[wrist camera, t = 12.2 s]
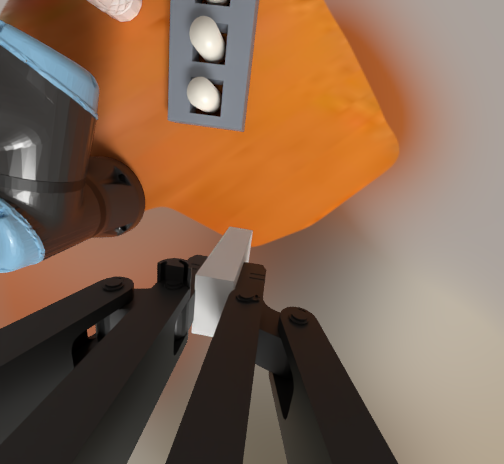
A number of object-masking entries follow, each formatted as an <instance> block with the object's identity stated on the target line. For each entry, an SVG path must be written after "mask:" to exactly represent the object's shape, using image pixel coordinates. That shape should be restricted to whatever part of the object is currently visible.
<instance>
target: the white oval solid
mask: <svg viewBox="0 0 504 464" xmlns="http://www.w3.org/2000/svg"><path fill="white" fill-rule="evenodd" d="M189 35H190V40H191V43H192V44H193V46H194V47H195V48H196V50H197V51H198V52H199V53H200V55H201V56H202V57H203V59H204V60H205V61H206V62H207V63H211V64H218V63H220V62H221V61H222V60H223V59H224V57H225V55H226V44H225V41H224V39H223V37H222V35H221V33H220V31H219V29H218V27H217V25H216V23H215V22H214V20H213V19H211V18H210V17H208V16H200V17H198V18H196V19H195V20H194V21H193V23H192V24H191V27H190V32H189Z"/></svg>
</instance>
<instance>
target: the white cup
mask: <svg viewBox="0 0 504 464" xmlns="http://www.w3.org/2000/svg"><path fill="white" fill-rule="evenodd" d="M87 1H88V2H90V3H91V4H93V5H94V6H96V7H97V8H98V9H100V10H101V11H103V12H105V13H106V14H108V15H109V16H110V17H112V18H114V19H116V20H118V21H120V22H125V21H131V20H132V19H133V18H134V17H136V16H137V15H138V13H139V11H140V8H141V6H142V0H87Z"/></svg>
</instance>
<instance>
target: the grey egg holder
mask: <svg viewBox="0 0 504 464" xmlns="http://www.w3.org/2000/svg"><path fill="white" fill-rule="evenodd" d="M258 5H259V0H230V7H228V6H218V5H209V4H202V0H171V2H170V47H169V91H168V120H169V121H172V122H175V123H183V124H190V125H197V126H205V127H212V128H219V129H227V130H234V131H241V132H244V127H245V119H246V110H247V101H248V92H249V84H250V75H251V66H252V57H253V49H254V40H255V31H256V22H257V14H258ZM200 16H208V17H210V18H211V19H213V20H214V22H215V23H216V25H217V27H218V29H219V31H220V33H226V34H227V45H226V57H225V65H220V64H211V63H203V62H199V52H198V51H197V50H196V48H195V47H194V46H193V44H192V43H191V40H190V35H189V32H190V27H191V24H192V23H193V21H194V20H195V19H196V18H198V17H200ZM195 77H205V78H207V79H208V80H209V81H210V82H211V83H212V84H216V85H223V93H222V105H221V116H220V117H218V116H210V115H203V114H196V107H195V106H194V105H192V104H191V103H190V101H189V99H188V96H187V87H188V84H189V83H190V81H191V80H192V79H194V78H195Z"/></svg>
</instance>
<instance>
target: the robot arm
mask: <svg viewBox="0 0 504 464" xmlns="http://www.w3.org/2000/svg"><path fill="white" fill-rule="evenodd" d="M98 99H99V86H98V83H97V81H96V79H95V78H94V76H93V75H92V74H91V73H90V72H89V71H87V70H86V69H85V68H83V67H82V66H80V65H79V64H77V63H76V62H74V61H72V60H71V59H69V58H67V57H66V56H64V55H63V54H61V53H59V52H57V51H56V50H54V49H52V48H51V47H49V46H47V45H46V44H44V43H42V42H40V41H38V40H37V39H35V38H33V37H31V36H30V35H28V34H26V33H24V32H23V31H21V30H19V29H17V28H15V27H13V26H11V25H9V24H6V23H5V22H3V21H2V20H0V273H5V272H11V271H14V270H17V269H20V268H23V267H25V266H28V265H32V264H36V263H39V262H41V261H42V260H45V259H47V258H49V257H51V256H53V255H55V254H57V253H60V252H62V251H64V250H66V249H68V248H70V247H73V246H75V245H76V244H79V243H81V242H83V241H86V240H88V239H90V238H103V237H115V236H119V235H122V234H124V233H126V232H128V231H130V230H132V229H133V228H135V227H136V226H137V225H138V223H139V222H140V220H141V219H142V217H143V213H144V209H145V197H144V192H143V189H142V186H141V184H140V182H139V180H138V179H137V177H136V176H135V174H134V173H133V172H132V171H131V170H130V169H129V168H128V167H127V166H125V165H124V164H123V163H121V162H119V161H117V160H115V159H112V158H109V157H102V156H95V157H90V153H91V147H92V142H93V136H94V131H95V125H96V119H97V120H98V114H97V108H98ZM252 232H253V230H247V229H241V228H234V227H229V228H228V230H227V231H226V232H225V234H224V235H223V237H222V238H221V239H220V241H219V242H218V244H217V245H216V247H215V248H214V249H213V251H212V252H211V254H210V255H209V256H208V257H207V256H202V255H195V256H193V257H190V258H189V259H188V260H184V259H177V258H172V259H165V260H162V261H160V262H158V265H157V270H158V271H157V274H158V275H157V283H156V284H155V285H154V286H153V287H152V288H149V289H134V283H133V281H132V280H130V279H129V278H125V277H112V278H107V279H104V280H101V281H99V282H97V283H95V284H93V285H91V286H88V287H86V288H84V289H82V290H80V291H78V292H76V293H74V294H72V295H70V296H68V297H66V298H64V299H62V300H59V301H57V302H55V303H53V304H51V305H49V306H47V307H45V308H43V309H41V310H39V311H36V312H34V313H32V314H30V315H28V316H26V317H24V318H22V319H20V320H18V321H16V322H14V323H12V324H10V325H7V326H6V327H3V328H1V329H0V464H127V462H128V460H129V458H130V456H131V454H132V452H133V450H134V448H135V446H136V444H137V442H138V440H139V437H140V436H141V434H142V432H143V430H144V428H145V426H146V423H147V422H148V420H149V417H150V415H151V413H152V412H153V410H154V408H155V405H156V403H157V402H158V400H159V397H160V395H161V393H162V391H163V389H164V387H165V385H166V383H167V381H168V379H169V377H170V375H171V373H172V371H173V369H174V367H175V365H176V363H177V361H178V359H179V357H180V355H181V353H182V351H183V349H184V347H185V345H186V343H187V340H188V330H189V328H190V326H191V324H192V333H195V334H200V335H205V336H211V337H213V338H212V341H211V343H210V346H209V349H208V351H207V354H206V357H205V359H204V362H203V365H202V367H201V370H200V373H199V375H198V378H197V381H196V384H195V386H194V389H193V391H192V394H191V397H190V399H189V402H188V405H187V407H186V410H185V413H184V416H183V418H182V421H181V423H180V426H179V429H178V431H177V434H176V437H175V439H174V442H173V445H172V447H171V450H170V453H169V455H168V458H167V461H166V463H165V464H243V455H244V447H245V440H246V432H247V424H248V416H249V408H250V400H251V391H252V384H253V376H254V367H255V364H257V365H259V366H261V367H262V368H264V369H266V370H268V371H269V379H270V383H271V388H272V393H273V398H274V402H275V407H276V412H277V416H278V421H279V426H280V430H281V435H282V439H283V444H284V449H285V454H286V458H287V463H288V464H398V463H397V461H396V459H395V457H394V455H393V454H392V452H391V450H390V448H389V447H388V445H387V443H386V441H385V439H384V438H383V436H382V434H381V432H380V430H379V429H378V427H377V425H376V424H375V422H374V420H373V418H372V416H371V414H370V413H369V411H368V409H367V408H366V406H365V404H364V402H363V400H362V399H361V397H360V395H359V393H358V391H357V390H356V388H355V386H354V384H353V383H352V381H351V379H350V377H349V376H348V374H347V372H346V370H345V368H344V367H343V365H342V363H341V361H340V359H339V358H338V356H337V354H336V352H335V351H334V349H333V347H332V345H331V344H330V342H329V340H328V338H327V336H326V335H325V333H324V331H323V329H322V328H321V326H320V324H319V322H318V321H317V319H316V318H315V316H314V315H313V314H312V313H310V312H308V311H307V310H305V309H302V308H299V307H287V308H285V309H283V310H282V311H281V313H280V312H277V311H275V310H273V309H271V308H270V307H268V306H267V305H266V304H265V303H264V301H263V291H264V283H265V274H266V269H265V268H264V266H263V265H259V264H253V263H248V261H249V254H250V247H251V239H252ZM93 325H95V326H96V333H95V334H94V335H92V336H90V337H88V336H87V329H89V328H90V327H92V326H93Z"/></svg>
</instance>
